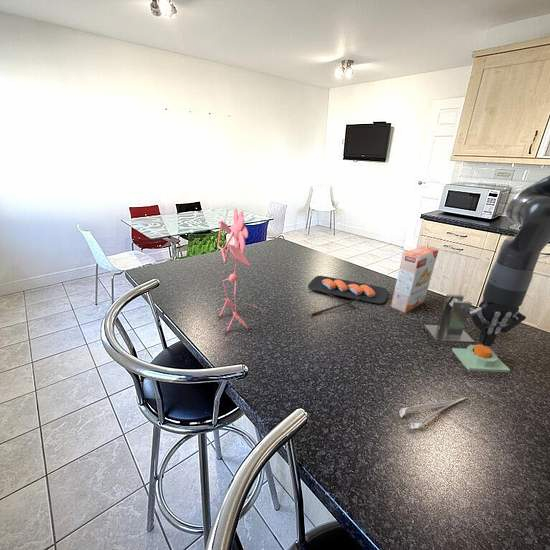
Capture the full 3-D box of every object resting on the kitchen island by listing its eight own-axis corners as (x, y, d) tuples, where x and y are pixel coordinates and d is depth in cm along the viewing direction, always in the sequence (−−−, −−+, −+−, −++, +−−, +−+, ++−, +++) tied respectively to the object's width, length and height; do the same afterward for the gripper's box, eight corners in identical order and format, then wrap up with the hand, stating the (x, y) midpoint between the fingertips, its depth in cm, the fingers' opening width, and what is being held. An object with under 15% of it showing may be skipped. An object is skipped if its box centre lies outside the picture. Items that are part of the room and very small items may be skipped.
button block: (487, 354, 80) (492, 344, 79) (508, 375, 73) (512, 364, 71) (450, 353, 80) (454, 342, 79) (467, 373, 73) (471, 362, 71)
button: (484, 349, 77) (486, 344, 76) (493, 359, 73) (495, 353, 73) (470, 349, 77) (472, 343, 76) (478, 358, 74) (480, 352, 73)
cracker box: (406, 316, 98) (419, 257, 90) (389, 308, 102) (401, 252, 94) (425, 303, 106) (439, 249, 98) (409, 297, 110) (422, 244, 102)
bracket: (458, 329, 91) (470, 293, 86) (473, 345, 84) (487, 306, 79) (423, 328, 91) (432, 291, 86) (434, 343, 84) (446, 304, 79)
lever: (483, 317, 87) (488, 311, 86) (493, 327, 83) (499, 320, 82) (446, 301, 86) (451, 295, 85) (455, 310, 81) (460, 303, 80)
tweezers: (414, 432, 57) (417, 424, 56) (397, 413, 61) (399, 406, 60) (473, 410, 64) (476, 403, 63) (454, 395, 68) (456, 388, 67)
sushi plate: (388, 292, 114) (389, 283, 112) (378, 332, 89) (380, 321, 87) (316, 278, 125) (317, 270, 123) (290, 310, 100) (290, 300, 98)
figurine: (231, 348, 80) (226, 221, 66) (212, 304, 102) (204, 203, 88) (282, 336, 86) (287, 217, 72) (253, 297, 107) (253, 200, 93)
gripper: (488, 288, 64) (466, 352, 71) (550, 290, 64) (522, 355, 71) (469, 275, 71) (451, 334, 78) (525, 277, 71) (501, 336, 77)
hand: (485, 344), depth 74 cm, fingers closed
